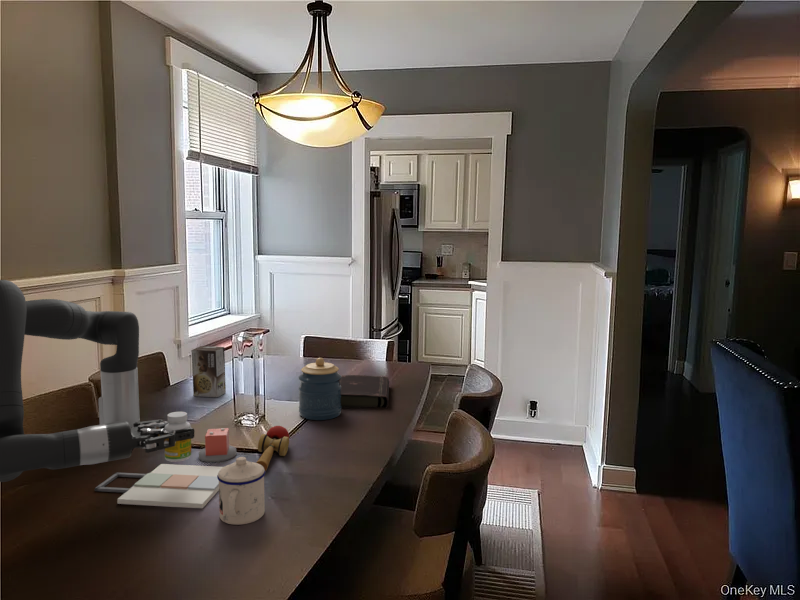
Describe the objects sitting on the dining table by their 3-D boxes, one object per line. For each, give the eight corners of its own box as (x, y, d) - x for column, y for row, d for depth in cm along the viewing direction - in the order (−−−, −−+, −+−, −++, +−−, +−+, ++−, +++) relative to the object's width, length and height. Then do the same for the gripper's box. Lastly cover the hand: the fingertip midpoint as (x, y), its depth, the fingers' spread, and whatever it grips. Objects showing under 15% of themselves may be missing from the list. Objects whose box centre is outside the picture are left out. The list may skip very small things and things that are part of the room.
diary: (389, 389, 209) (389, 375, 208) (388, 410, 184) (388, 395, 183) (337, 387, 208) (337, 374, 208) (329, 409, 184) (330, 393, 183)
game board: (80, 501, 119) (79, 495, 119) (128, 466, 137) (128, 460, 137) (202, 508, 117) (202, 501, 116) (235, 471, 134) (235, 465, 134)
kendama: (281, 478, 135) (297, 440, 152) (275, 454, 133) (292, 418, 151) (249, 482, 135) (269, 444, 153) (243, 458, 134) (263, 422, 151)
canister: (303, 407, 184) (303, 352, 182) (344, 408, 183) (344, 353, 181) (294, 420, 171) (294, 362, 169) (338, 421, 170) (338, 363, 168)
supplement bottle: (182, 463, 122) (181, 419, 121) (159, 461, 123) (158, 416, 122) (196, 454, 127) (195, 411, 126) (174, 451, 128) (173, 409, 127)
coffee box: (226, 392, 199) (225, 346, 197) (217, 397, 193) (216, 350, 191) (202, 391, 200) (200, 345, 199) (192, 396, 194) (190, 349, 192)
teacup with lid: (226, 503, 119) (225, 449, 117) (270, 504, 119) (269, 449, 117) (206, 534, 107) (205, 474, 106) (255, 534, 107) (254, 474, 106)
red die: (195, 463, 139) (194, 437, 138) (201, 449, 148) (201, 424, 147) (234, 461, 140) (233, 435, 140) (238, 447, 149) (237, 423, 148)
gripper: (109, 435, 110) (199, 420, 120) (98, 415, 122) (181, 403, 132) (110, 473, 111) (199, 455, 121) (99, 449, 123) (181, 435, 132)
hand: (189, 428), depth 126 cm, fingers closed on supplement bottle, 5 cm apart
